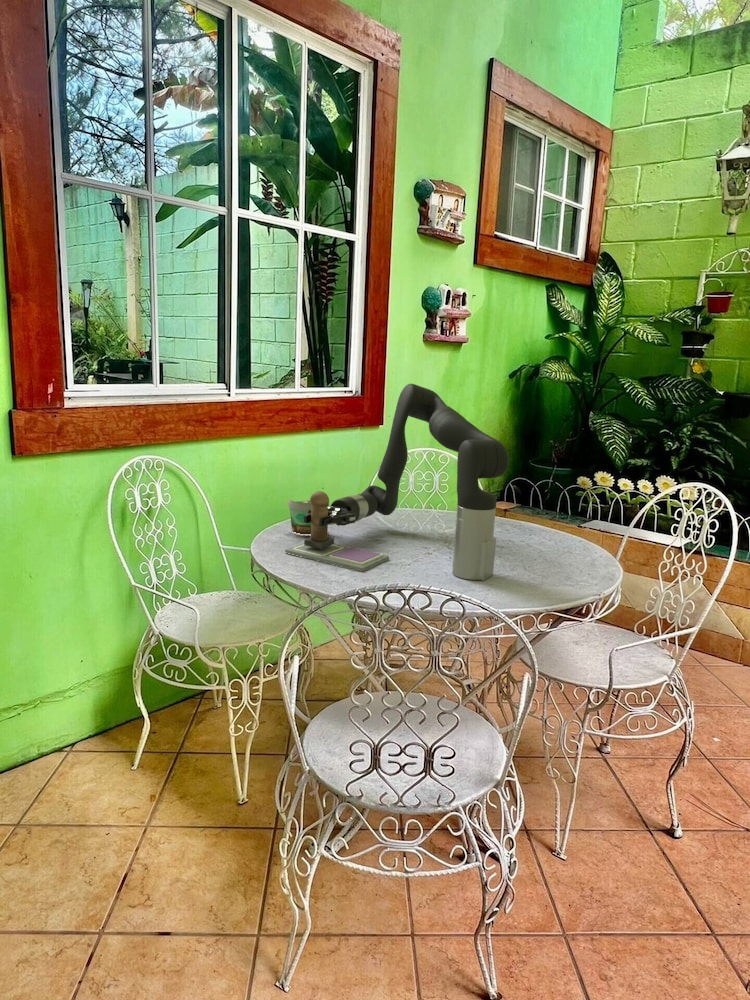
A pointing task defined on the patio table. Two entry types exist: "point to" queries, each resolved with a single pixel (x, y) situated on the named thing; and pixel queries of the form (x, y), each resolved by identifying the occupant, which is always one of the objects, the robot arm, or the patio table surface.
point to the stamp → (318, 511)
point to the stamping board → (341, 556)
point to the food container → (299, 516)
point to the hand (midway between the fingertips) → (313, 521)
